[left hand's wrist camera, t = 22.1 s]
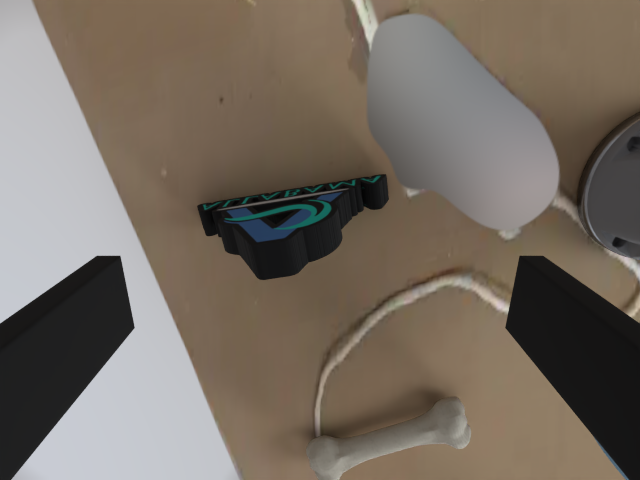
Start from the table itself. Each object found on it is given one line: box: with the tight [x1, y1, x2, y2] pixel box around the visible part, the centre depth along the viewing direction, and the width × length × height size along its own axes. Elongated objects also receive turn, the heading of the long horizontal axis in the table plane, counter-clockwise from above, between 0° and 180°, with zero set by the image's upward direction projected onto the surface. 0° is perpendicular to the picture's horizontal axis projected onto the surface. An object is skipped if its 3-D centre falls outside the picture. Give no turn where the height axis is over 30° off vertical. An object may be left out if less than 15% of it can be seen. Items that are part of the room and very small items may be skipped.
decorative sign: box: [197, 174, 389, 280], centre depth 31 cm, size 19×2×15 cm, turn 99°
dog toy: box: [306, 397, 471, 480], centre depth 46 cm, size 20×6×5 cm, turn 112°
